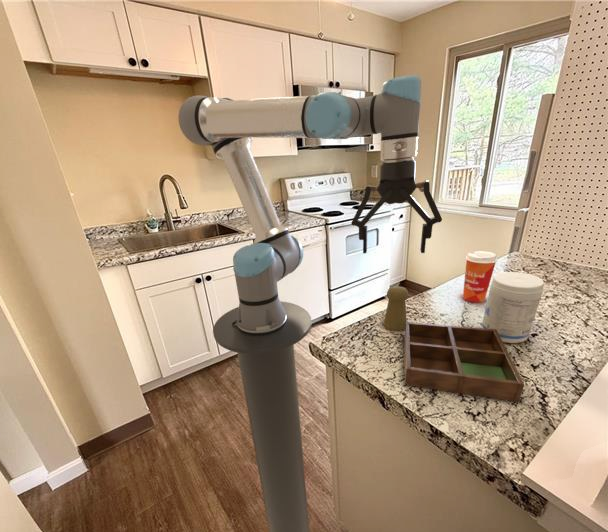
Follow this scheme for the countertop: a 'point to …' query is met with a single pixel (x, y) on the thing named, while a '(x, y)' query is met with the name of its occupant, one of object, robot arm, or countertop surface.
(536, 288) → the supplement tub
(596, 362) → the countertop surface
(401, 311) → the cork
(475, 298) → the paper cup
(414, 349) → the grid
